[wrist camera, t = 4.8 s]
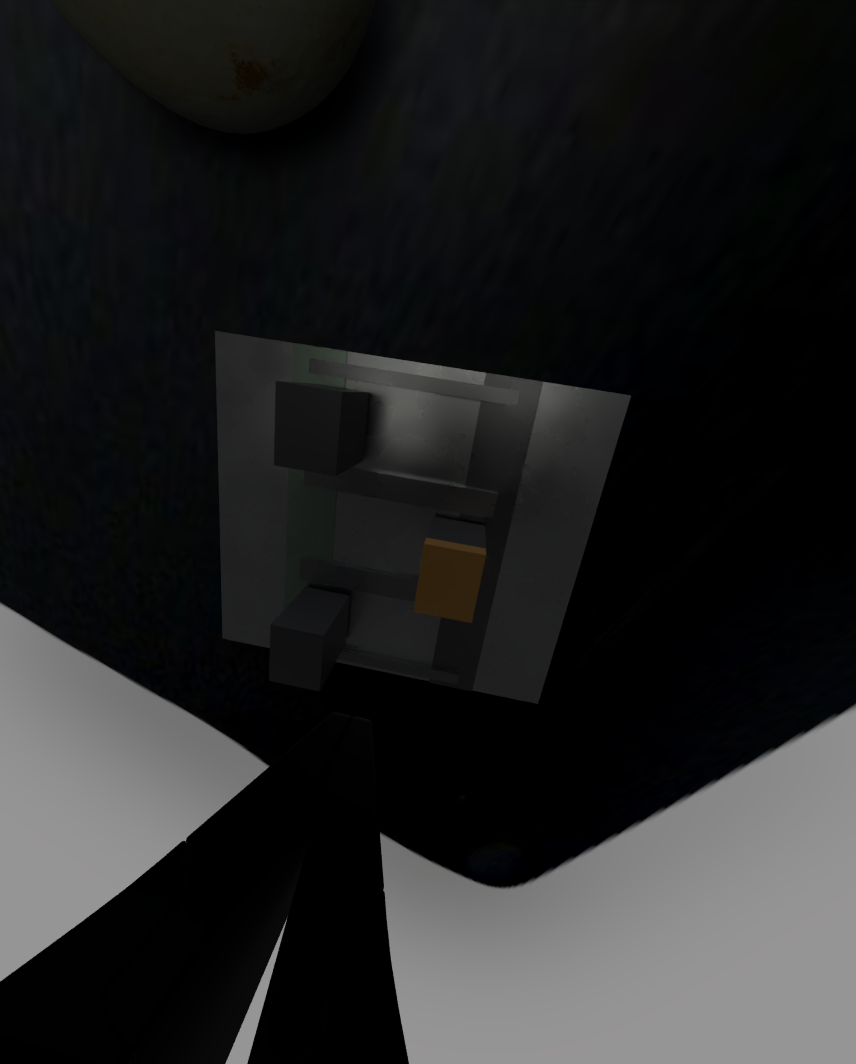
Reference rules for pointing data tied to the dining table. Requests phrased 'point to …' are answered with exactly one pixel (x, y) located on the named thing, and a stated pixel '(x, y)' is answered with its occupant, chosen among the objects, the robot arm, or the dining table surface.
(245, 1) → the seashell
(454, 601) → the handle
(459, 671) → the panel
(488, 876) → the dining table surface
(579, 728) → the dining table surface
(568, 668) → the dining table surface
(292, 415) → the handle
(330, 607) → the handle
